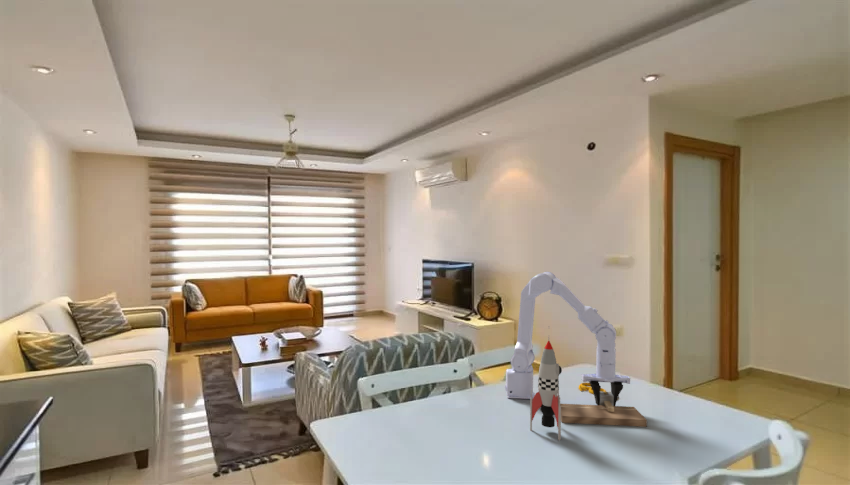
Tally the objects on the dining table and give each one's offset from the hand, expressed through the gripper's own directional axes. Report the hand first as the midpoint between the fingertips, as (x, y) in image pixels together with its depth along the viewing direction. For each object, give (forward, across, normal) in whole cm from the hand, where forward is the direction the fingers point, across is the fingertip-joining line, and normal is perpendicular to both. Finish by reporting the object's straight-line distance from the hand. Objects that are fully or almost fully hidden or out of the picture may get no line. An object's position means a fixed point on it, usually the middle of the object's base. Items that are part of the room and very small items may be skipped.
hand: (605, 404), depth 141 cm
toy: (+2, -22, -20) cm, 30 cm away
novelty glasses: (+2, +2, +16) cm, 16 cm away
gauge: (+1, 0, -3) cm, 3 cm away
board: (+1, -4, -8) cm, 9 cm away
